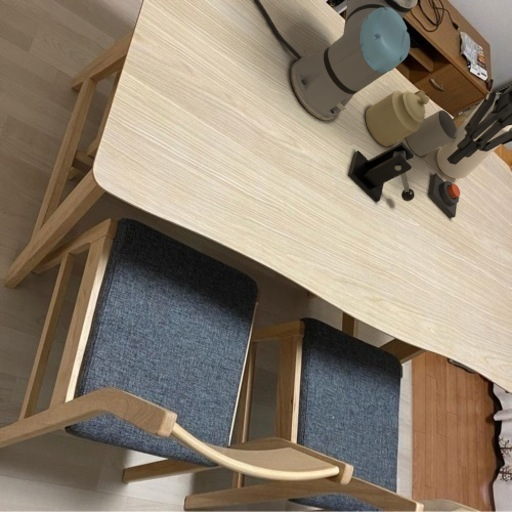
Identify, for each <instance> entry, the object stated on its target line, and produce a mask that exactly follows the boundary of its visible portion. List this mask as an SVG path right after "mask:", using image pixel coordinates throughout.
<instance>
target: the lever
mask: <svg viewBox="0 0 512 512" xmlns="http://www.w3.org/2000/svg"><path fill="white" fill-rule="evenodd" d="M398 154H400V155H401V156H402V157H403V158H404V159H405V160H406V161H407V162H408V160H407V158H406V153H405V151H395V152H394V155H393V157H394V156H396V155H398ZM400 178H401V183H402V187H403V190H402V191H401V193H400V195H401V198H402V200H403V201H404V202H411V201H412V200H413V199H414V198H415V191H414V190H413V189H412V188H410V185H409V181H408V176H407V172H405V173H403V174H401V175H400Z"/></svg>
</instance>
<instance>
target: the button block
mask: <svg viewBox="0 0 512 512" xmlns="http://www.w3.org/2000/svg"><path fill="white" fill-rule="evenodd" d="M452 184H453V182H452V181H450V180H444V179H443V178H442V177H441V176H440V175H439V174H438V173H437V172H436V173H433V174H432V175H430V180H429V185H428V186H429V187H428V193H427V196H428V198H429V199H430V200H431V201H432V202H433V203H434V204H435V205H436V206H437V207H438V208H439V209H440V210H441V211H442V212H443V213H444V214H445V215H446V216H447V217H448V218H449V219H453V218H455V217H456V216H457V207H458V203H459V201H460V196H459V197H456V198H454V199H452V198H451V197H450V196H449V194H448V191H447V187H448V186H450V185H452Z"/></svg>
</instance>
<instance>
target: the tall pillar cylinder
mask: <svg viewBox="0 0 512 512" xmlns="http://www.w3.org/2000/svg"><path fill="white" fill-rule="evenodd" d="M500 93H501V92H496V94H498V95H499V94H500ZM483 100H484V98H483V99H482V101H480V103H478V104H479V105H478V104H477V105H478V106H477V107H476V109H475V110H474V111H473V112H472V113H471V114H470V115H469V117H468V118H467V119H466V120H465V121H464V122H463V124H462V125H461V126H460V127H459V128H458V129H457V131H456V132H455V135H454V137H456V139H455V140H453V141H451V142H449V143H447V144H445V145H443V146H441V147H440V148H439V150H438V152H437V154H436V163H437V165H438V167H439V169H440V171H441V172H442V173H443V174H445V176H447V177H449V178H452V179H457V180H459V179H465V178H466V177H468V176H469V175H471V173H473V172H474V170H475V169H477V168H478V167H479V166H480V165H481V164H482V163H483V162H484V161H485V160H486V159H487V158H488V157H489V156H491V154H493V152H494V151H496V149H498V148H499V147H500V146H501V145H502V144H500V145H498V146H497V147H495V148H493V149H491V150H489V151H487V152H485V151H480V150H479V149H478V150H477V151H476V152H475V153H474V154H472V155H471V156H470V157H464V158H463V159H462V160H460V161H459V162H458V163H457V164H456V165H455V164H450V163H449V161H448V160H447V158H448V157H449V156H450V155H451V154H453V153H454V152H455V151H456V150H457V149H458V147H457V145H458V143H459V142H461V141H462V140H463V139H464V138H465V134H467V132H466V131H465V129H464V128H465V126H466V125H467V123H468V122H469V120H470V119H471V118H472V116H473V115H474V113H475V112H476V111H477V109H478V108H479V107H480V105H481V104H482V102H483ZM494 104H495V102H494V103H493V104H492V106H491V107H490V109H489V110H488V112H487V113H486V114H485V116H484V117H483V118H482V120H481V121H480V122H482V121H483V120H484V119H485V118H486V117H487V116H488V114H489V113H490V112H491V111H493V108H494ZM496 121H497V120H496ZM496 121H495V122H496ZM495 122H494V123H495ZM494 123H493V124H491V125H490V126H489V127H488V128H487V129H486V130H485V131H484V132H483V133H481V134H480V135H479V136H478V137H477V138H476V139H473V140H474V141H476V140H477V139H478V138H479V137H480V136H481V135H483V134H484V133H485V132H486V131H487V130H488V129H489V128H490V127H491V126H493V125H494ZM510 128H512V125H509V126H506V127H505V128H503V129H501V130H500V131H499V132H498V133H497V134H496V135H495V136H494V137H493V138H491V139H490V140H492V139H494V138H496V137H498V136H499V135H501V134H503V133H505V132H507V131H509V129H510ZM490 140H489V141H490ZM489 141H488V142H489Z"/></svg>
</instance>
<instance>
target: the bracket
mask: <svg viewBox="0 0 512 512" xmlns="http://www.w3.org/2000/svg"><path fill="white" fill-rule="evenodd" d="M395 151H405V153H406V158H407V161H406V160H405V159H404V158H403V157H402V156H401V155H400V154H398V155H396V156H394V157H393V155H394V152H395ZM414 157H415V153H414V152H413V151H412V150H411V149H410V148H409V147H407V146H406V144H404V143H403V141H401V142H399V143H397V144H396V145H394V146H392V147H390V148H388V149H386V150H384V151H382V152H380V153H379V154H377V155H376V156H374V157H372V158H370V159H368V158H367V157H366V156H365V154H363V153H362V152H361V151H360V150H356V151H355V152H354V154H353V157H352V160H351V165H350V168H349V172H348V175H347V176H348V177H349V178H350V179H351V180H352V181H353V182H354V183H356V185H357V186H359V187H360V189H361V190H362V191H364V193H366V194H367V195H368V196H369V197H370V198H371V199H372V200H373V201H374V202H375V203H377V202H380V201H381V198H382V193H383V189H384V184H385V183H387V182H389V181H391V180H393V179H395V178H397V177H399V176H401V174H403V173H405V172H406V173H407V172H409V171H411V170H412V168H413V167H412V165H411V164H410V163H409V162H408V161H409V160H411V159H413V158H414Z"/></svg>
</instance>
